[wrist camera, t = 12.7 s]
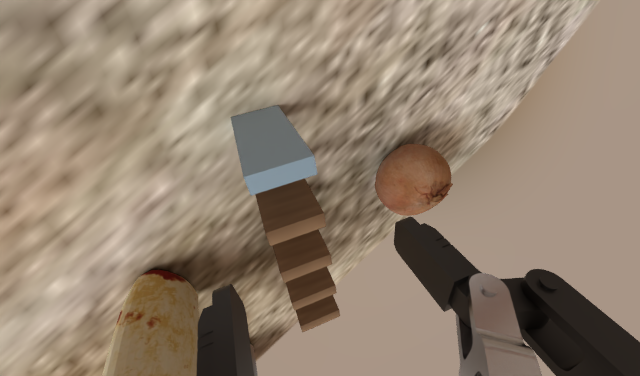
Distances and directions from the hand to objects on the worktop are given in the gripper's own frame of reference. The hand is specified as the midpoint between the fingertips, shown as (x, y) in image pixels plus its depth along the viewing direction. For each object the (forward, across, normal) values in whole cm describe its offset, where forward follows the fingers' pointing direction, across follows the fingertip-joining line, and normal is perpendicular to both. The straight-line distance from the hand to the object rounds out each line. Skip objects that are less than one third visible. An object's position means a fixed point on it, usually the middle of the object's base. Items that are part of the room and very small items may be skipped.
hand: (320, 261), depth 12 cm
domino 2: (+20, 0, +5) cm, 21 cm away
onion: (+20, -17, +11) cm, 28 cm away
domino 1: (+20, 0, 0) cm, 20 cm away
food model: (+20, +18, +19) cm, 33 cm away
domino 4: (+20, 0, +16) cm, 26 cm away
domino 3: (+20, 0, +11) cm, 23 cm away
